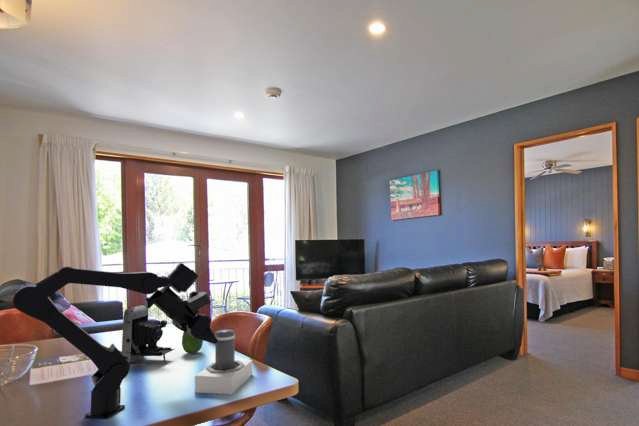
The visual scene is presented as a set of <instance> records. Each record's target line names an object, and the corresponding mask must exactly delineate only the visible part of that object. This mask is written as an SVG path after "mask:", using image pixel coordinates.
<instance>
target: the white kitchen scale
mask: <svg viewBox="0 0 639 426" xmlns="http://www.w3.org/2000/svg"><path fill="white" fill-rule="evenodd" d="M253 371H254V370H253V359H239V358H238V359H237V358H235V368H233V369H229V370H215V362H211V364H209V365H207V366H206V368H204V369H203V370H201V371H200V372H198V373H197V374H196V375H195V376H194V393H198V394H199V393H201V394H216V393H217V394H218V395H219V394H220V395H221V394H222V395H233V394H234V393H235V392H236V391H237V390H238V389H239V388H240V387H241V386H242V385H243V384H244V383H245V382H247V381H248V380H249V379H250V378H251V377H252V376H253V375H252V374H253V373H254V372H253ZM251 375H252V376H251ZM250 376H251V377H250Z"/></svg>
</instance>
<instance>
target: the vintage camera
mask: <svg viewBox="0 0 639 426" xmlns="http://www.w3.org/2000/svg"><path fill="white" fill-rule="evenodd" d="M167 325H168V321H166V320H165V319H162V320H160V324H158V323H155V322H153V321H151V320H150V321H149V308H146V307H145V303H141V305H138V306H134V307H130V306H129V307H127V308H126V309H125V310H124V311H123V320H122V336H121V337H122V338H121V351H122V352H124V353H125V355H126V356H127V357H128V359H126V360H127V361H128V363H129V364H131V363H134V362H136V361H139V360H140V359H143V358H144V357H163V363H166V354H168V353H171V352H172V351H174V350H175V348H172V347H163V346H159V345H157V344H158V342H159V341H160V340H161V338H162V337H163V334H164V330H163V328H166V326H167Z"/></svg>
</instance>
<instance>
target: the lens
mask: <svg viewBox="0 0 639 426" xmlns="http://www.w3.org/2000/svg"><path fill="white" fill-rule="evenodd" d="M214 333H215V334H214V335H215V337H216V338H217V340H218V342H217V343H216V344H214V345H215V347H214V348H215V350H214V351H215V357H214V358H215V360H214V361H215V362H214V363H215V370H229V369H233V368H235V359H236V358H235V357H236V355H235V352H236V351H235V349H236V348H235V347H236V345H235V341H236V340H235V338H236V334H235V330H234V329H221V330H220V329H219V330H217V331H215V332H214Z"/></svg>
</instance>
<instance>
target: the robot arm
mask: <svg viewBox="0 0 639 426" xmlns="http://www.w3.org/2000/svg"><path fill="white" fill-rule="evenodd" d="M199 278H200V277H199V275H198V274H197V273H196V272H195V271H194V270H193V269H191V268H189V267H188V266H187V265H185V264H184V263H182V262H180V263H179V264H177V265H176V267H175V268H174V269H173V270H172V271H171V272H170V274H168V276H164V275H161V276H158V275H157V273H153V272H150V271H134V272H133V271H132V272H111V271H103V270H94V269H84V268H77V267H71V266H62V267H61V268H60V269H59V268H58V270H57V271H55V272H54V273H52V274H51V275H49V276H46V277H45V278H44V279H42V280H40V281H39V282H37V283H35V284H26V285H24V286H22V287H20V288H19V289H18V290H17V291H16V292H15V294H14V296H13V300H12V304H13V307H14V308H15V309H16V310H18V311H19V312H20V313H23V314H25V315H27V316H28V317H31V318H33V319H35V320H36V321H40V322H42V323H44V324H45V325H47V326H48V327H49V328H51V330H53V331H55V332H56V333H57V334H58V335H59V336H61V337H62V338H63V339H65V340H66V341H67V342H69V344H71V345H72V346H73V347H75V348H76V349H77V350H79V351H80V352H81V353H82V354H84V355H85V356H86V357H88V359H90V360H91V362H92V363H93V364H94V365H95V367H96V368H97V370H96V371H95V372H94V373H93V374H92V375H91V377H90V378H91V381H92V383H93V388H92V390H91V391H90V411H88V412H87V413H85V414H84V417H85V418H95V419H96V418H98V419H109V418H110V417H112V416H113V415H115V414H117V413H118V412H120V411H121V410H123V409H125V408H126V405H124V404H121V394H122V392H121V391H122V390H121V389H122V388H121V385H122V382H123V380H125V378H127V376H128V375H129V372H130V370H131V368H130V367H131V365H130V363H128V361H127V360H126V359H128V357H127V356H126V355H125V353H124V352H122V350H119V349H118V348H117V347H116V346H115V344H114V343H111V345H109V347H107V346H105V345H103V344H102V343H100V342H99V341H98V340H97V339H95V338H94V337H93V336H92V335H91V334H89V333H88V332H87V331H86V330H84V329H83V328H82V327H81V326H80V325H78V324H77V323H76V322H75V321H73V320H72V319H71V318H70V317H68V316H67V315H66V314H65V313H63V312H62V310H60V309H59V308H58V307H57V306H56V304H55V303H54V302H53V300H52V299H51V296H52V295H54V294H55V293H57V292H58V291H60V290H61V289H62V288H64V287H65V286H66V285H67V286H68V285H69V284H76V285H77V284H78V285H85V286H86V285H87V286H88V285H90V286H98V287H99V286H100V287H112V288H121V289H125V290H129V291H132V292H136V293H140V294H143V295H150V296H148V297H144V304H145V307H146V308H148V309H151V307H153V305H154V306H155V307H157V308H158V309H159V310H160V311H161V312H162V313H163V314H164V315H165V316H166V317H167V318H169V319H171V320H172V321H171V322H172V325H173V326H174V327H176V328H177V329H178V330H180V331H182V332H187V333H189V334H190V335H191V336H192V337H194V338H196V339H200V340H203V342H207V343H211V344H214V345H215V344H216V343H217V342H218V340H217V338H216V337H215V334H214V332H213V331H212V329H211V324H212V318H211V317H210V316H208V315H207V314H205V313H199V312H200V311H199V310H200V309H202V308H203V307H205V306H206V305H210V304H211V302H212V301H211V299H210V297H209V296H210V295H208V293H207V292H206V291H200V292H197V291H196V290H195V291H194V290H193V291H190V292H189V296H188V298H187V300H184V299H183V298H182V297H180V296H179V295H178V294H181V292H182V293H186V292H187V291H188V290H189V289H190V288H191V286H193V285H194V284H195V282H196V281H197V280H198V279H199ZM160 288H161V289H160ZM171 288H172V289H173V290H172V289H171Z"/></svg>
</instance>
